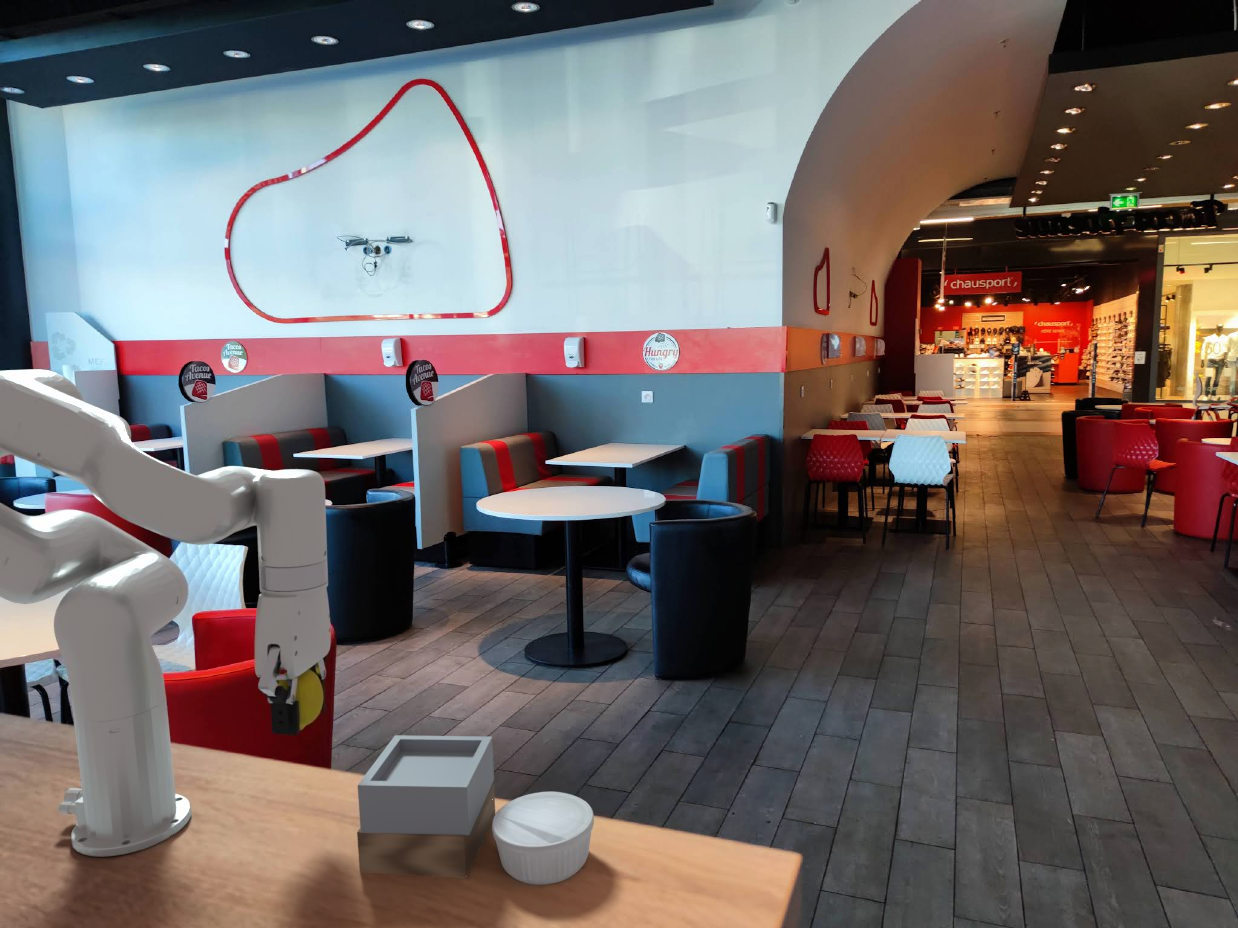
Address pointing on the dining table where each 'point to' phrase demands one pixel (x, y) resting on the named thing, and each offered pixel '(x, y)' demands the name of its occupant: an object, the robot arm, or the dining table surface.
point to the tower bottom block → (426, 849)
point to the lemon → (307, 696)
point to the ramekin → (543, 836)
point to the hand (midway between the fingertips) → (299, 720)
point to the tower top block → (427, 785)
